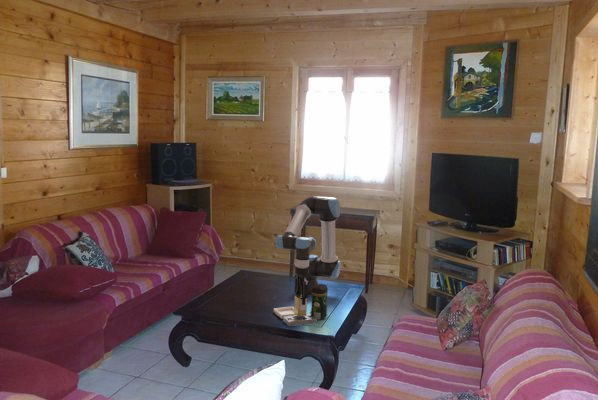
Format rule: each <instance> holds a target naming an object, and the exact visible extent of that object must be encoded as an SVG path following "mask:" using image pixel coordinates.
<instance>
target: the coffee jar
mask: <svg viewBox="0 0 598 400" xmlns="http://www.w3.org/2000/svg"><path fill="white" fill-rule="evenodd" d="M327 308H328V286H327V285H326V284H323V283H318V285H316V286H314V287H312V294H311V309H310V314H311V315H312V316H314V317H315V318H316V321H322V320H323V321H324V319H326V318H327V316H328V315H327V314H328V309H327Z"/></svg>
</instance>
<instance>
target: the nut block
mask: <svg viewBox="0 0 598 400" xmlns="http://www.w3.org/2000/svg"><path fill="white" fill-rule="evenodd" d="M300 298H301V294H300V295H296V294H295V295H294V306H293V307H294V314H296V315H297V316H305V315H306V314H307V308H308V299H306V304H305V310H303V311H300Z"/></svg>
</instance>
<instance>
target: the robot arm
mask: <svg viewBox="0 0 598 400" xmlns="http://www.w3.org/2000/svg"><path fill="white" fill-rule="evenodd" d="M313 215H314V216H318V220H319V221H320V226H321V230H320V232H321V255H320V257H319V255H316V254H311V252H312V251H314V250H315V249H316V248H317V245H318V243H317V239H316V238H315V237H312V236H307V237H306V236H301V237H300V236H299V234H300V232H301V231H302V229H303V227H304V225H305V223H306V221H307V219H309V218H310V217H311V216H313ZM340 215H341V202H340V201H339V199H338V198H336V197H332V196H329V197H328V196H318V195H313V196H309V197H306V198H304V199H303V200H301V202H300V203H299V204H298V205H297V207H296V209H295V213H294V215H293V217H292V219H291V220H290V222H289V224H288V226H287V228H286V230H285V231H284V233H283V234H279V235H277V236H276V238H275V247H276V248H277V249H281V250H286V251H287V250H290V251H295V254H294V255H295V257H294V258H295V260H294V265H295V266H294V287H293V290H294V294H295V295H301V298H300V311H303V310H305V304H306V299H307V300H308V298H309V295H312V287H314V286H316V285H318V284H319V282H318V277H319V278H326V279H327V278H328V279H337V278H338V277H339V275H340V272H341V269H342V268H341V267H342V261H341V260H339V257H338V255H336V248H337V247H336V221H337V220H338V218H340Z"/></svg>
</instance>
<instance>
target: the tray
mask: <svg viewBox="0 0 598 400" xmlns="http://www.w3.org/2000/svg"><path fill="white" fill-rule="evenodd" d="M273 313H274V314H275V315H276V316H277V317H279V319H281V320H283V317H286V316H295V315H296V314H294V306H292V305H291V306H283V307H276V308H275V307H273Z"/></svg>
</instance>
